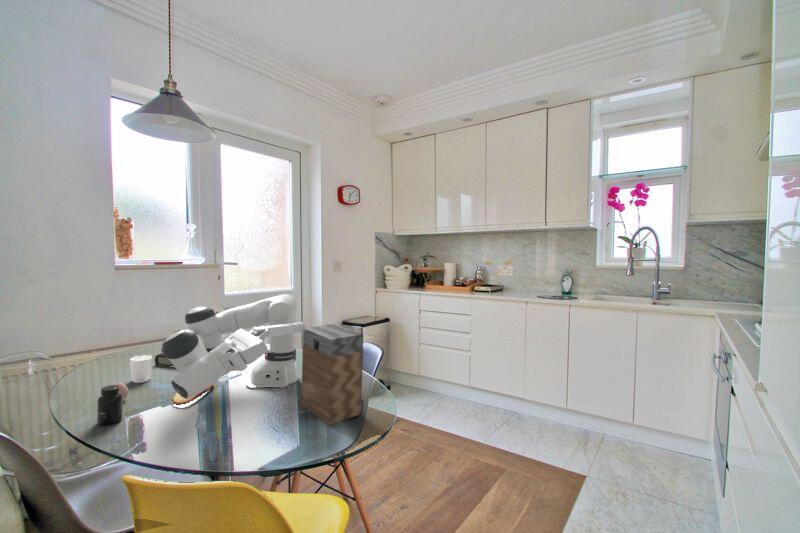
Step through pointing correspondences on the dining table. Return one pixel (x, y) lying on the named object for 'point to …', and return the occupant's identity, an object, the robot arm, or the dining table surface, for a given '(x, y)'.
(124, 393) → the egg
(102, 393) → the supplement bottle
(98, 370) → the dining table surface
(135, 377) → the white cup
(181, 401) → the slice of bread
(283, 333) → the steel bar
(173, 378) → the robot arm
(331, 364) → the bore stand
